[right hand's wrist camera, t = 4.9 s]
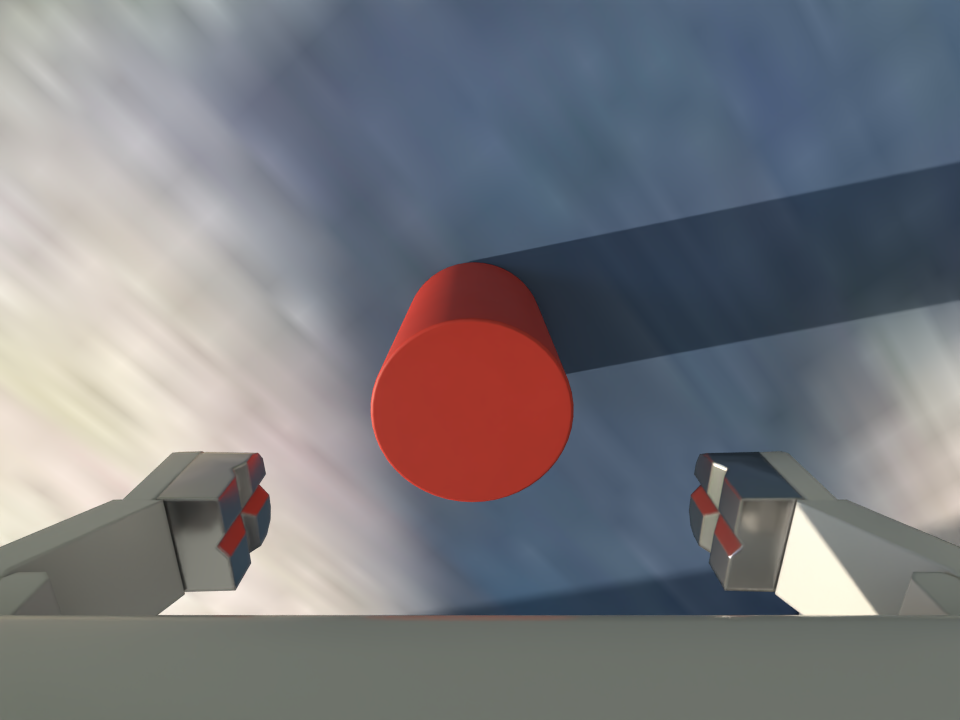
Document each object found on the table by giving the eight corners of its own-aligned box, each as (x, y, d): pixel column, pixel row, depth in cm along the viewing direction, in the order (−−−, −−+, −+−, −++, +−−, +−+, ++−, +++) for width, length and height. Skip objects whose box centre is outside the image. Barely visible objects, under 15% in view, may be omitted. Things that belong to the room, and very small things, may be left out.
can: (414, 252, 19) (378, 304, 12) (552, 272, 19) (593, 334, 12) (401, 381, 21) (363, 491, 14) (528, 398, 21) (552, 514, 14)
